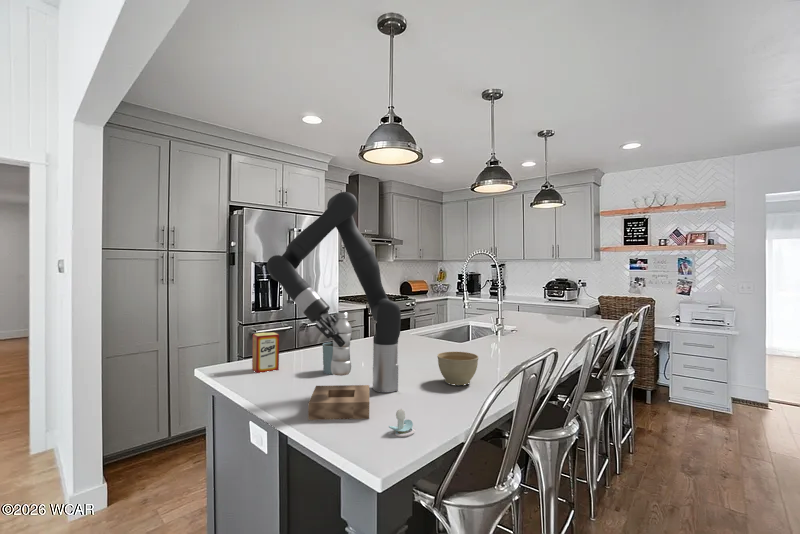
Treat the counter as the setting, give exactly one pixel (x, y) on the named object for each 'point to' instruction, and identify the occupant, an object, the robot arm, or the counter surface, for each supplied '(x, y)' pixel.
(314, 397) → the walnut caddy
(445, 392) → the counter surface
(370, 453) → the counter surface
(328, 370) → the drinking glass
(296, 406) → the counter surface
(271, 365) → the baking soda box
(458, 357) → the planter bowl
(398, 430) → the pacifier
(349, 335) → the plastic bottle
